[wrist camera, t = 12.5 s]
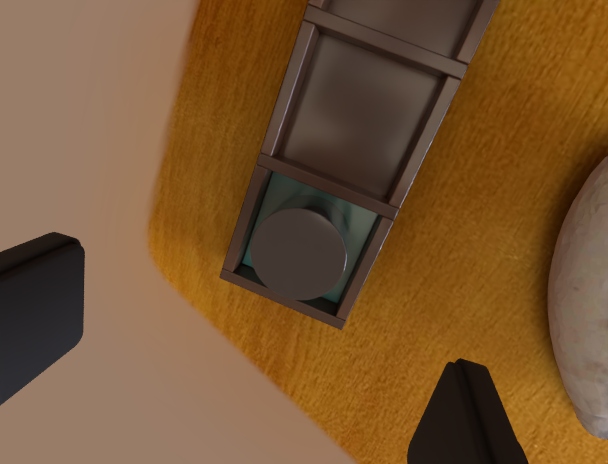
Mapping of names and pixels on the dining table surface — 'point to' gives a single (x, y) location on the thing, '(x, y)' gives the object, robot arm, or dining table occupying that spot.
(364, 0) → the divided tray
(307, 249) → the dark gray cylinder
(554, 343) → the decorative stone
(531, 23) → the dining table surface
